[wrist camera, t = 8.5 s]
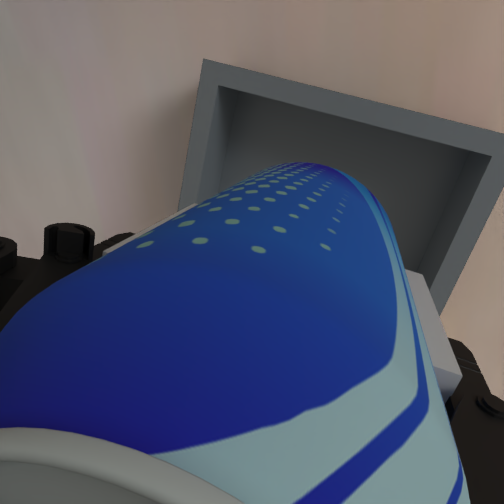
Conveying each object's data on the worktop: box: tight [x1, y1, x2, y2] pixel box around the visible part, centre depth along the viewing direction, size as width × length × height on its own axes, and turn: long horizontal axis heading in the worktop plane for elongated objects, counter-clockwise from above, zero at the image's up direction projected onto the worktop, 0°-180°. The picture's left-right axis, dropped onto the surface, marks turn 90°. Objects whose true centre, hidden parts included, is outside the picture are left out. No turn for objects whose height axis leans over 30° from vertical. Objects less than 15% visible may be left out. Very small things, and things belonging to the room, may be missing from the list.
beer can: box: [0, 162, 470, 504], centre depth 12 cm, size 8×8×16 cm
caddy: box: [177, 59, 504, 317], centre depth 27 cm, size 14×18×5 cm
